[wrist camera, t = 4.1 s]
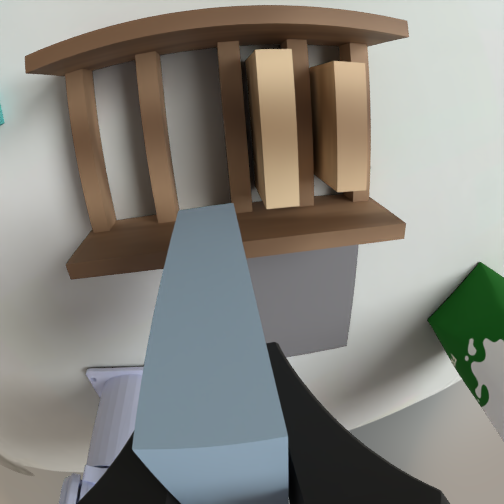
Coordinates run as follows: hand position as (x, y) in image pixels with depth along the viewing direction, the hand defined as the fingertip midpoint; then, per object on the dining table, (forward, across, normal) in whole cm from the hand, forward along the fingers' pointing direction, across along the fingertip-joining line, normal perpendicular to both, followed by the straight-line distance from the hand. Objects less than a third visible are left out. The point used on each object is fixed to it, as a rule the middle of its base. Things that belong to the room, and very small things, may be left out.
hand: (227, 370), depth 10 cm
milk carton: (+10, -22, +10) cm, 26 cm away
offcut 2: (+10, -7, -6) cm, 14 cm away
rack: (+10, -1, -6) cm, 12 cm away
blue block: (+4, 0, 0) cm, 4 cm away
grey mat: (+10, -4, +5) cm, 12 cm away
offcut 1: (+10, -3, -6) cm, 12 cm away
